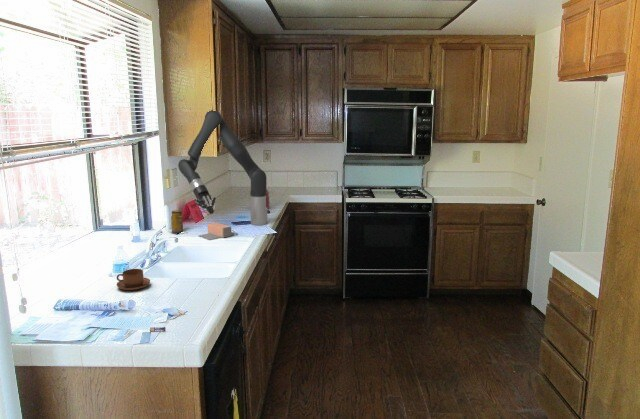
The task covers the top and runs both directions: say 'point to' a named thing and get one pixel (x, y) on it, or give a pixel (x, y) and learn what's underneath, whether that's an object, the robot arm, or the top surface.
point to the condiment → (177, 222)
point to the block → (219, 229)
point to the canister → (267, 198)
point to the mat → (212, 236)
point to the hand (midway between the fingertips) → (212, 213)
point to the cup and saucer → (132, 280)
